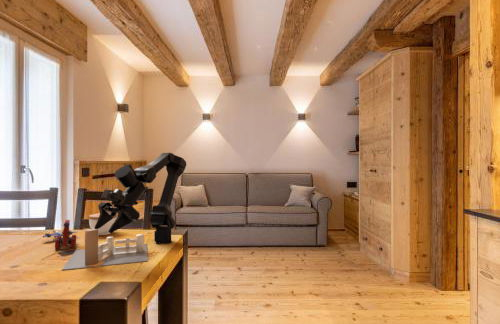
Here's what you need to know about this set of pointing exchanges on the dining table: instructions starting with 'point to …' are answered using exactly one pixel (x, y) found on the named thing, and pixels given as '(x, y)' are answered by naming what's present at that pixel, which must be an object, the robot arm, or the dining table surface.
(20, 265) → the dining table surface
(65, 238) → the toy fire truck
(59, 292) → the dining table surface
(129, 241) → the fence fixed
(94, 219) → the lidded bowl
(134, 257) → the card
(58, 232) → the toy airplane
